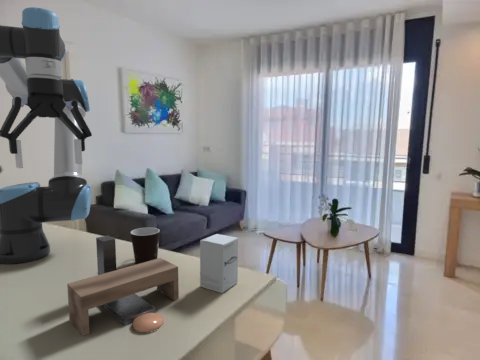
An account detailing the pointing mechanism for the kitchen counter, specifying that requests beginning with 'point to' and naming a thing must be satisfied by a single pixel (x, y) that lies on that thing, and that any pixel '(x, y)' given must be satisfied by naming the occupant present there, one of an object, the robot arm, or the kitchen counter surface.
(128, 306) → the dark gray angled bracket
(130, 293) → the bench
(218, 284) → the supplement box
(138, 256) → the coffee mug
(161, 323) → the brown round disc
